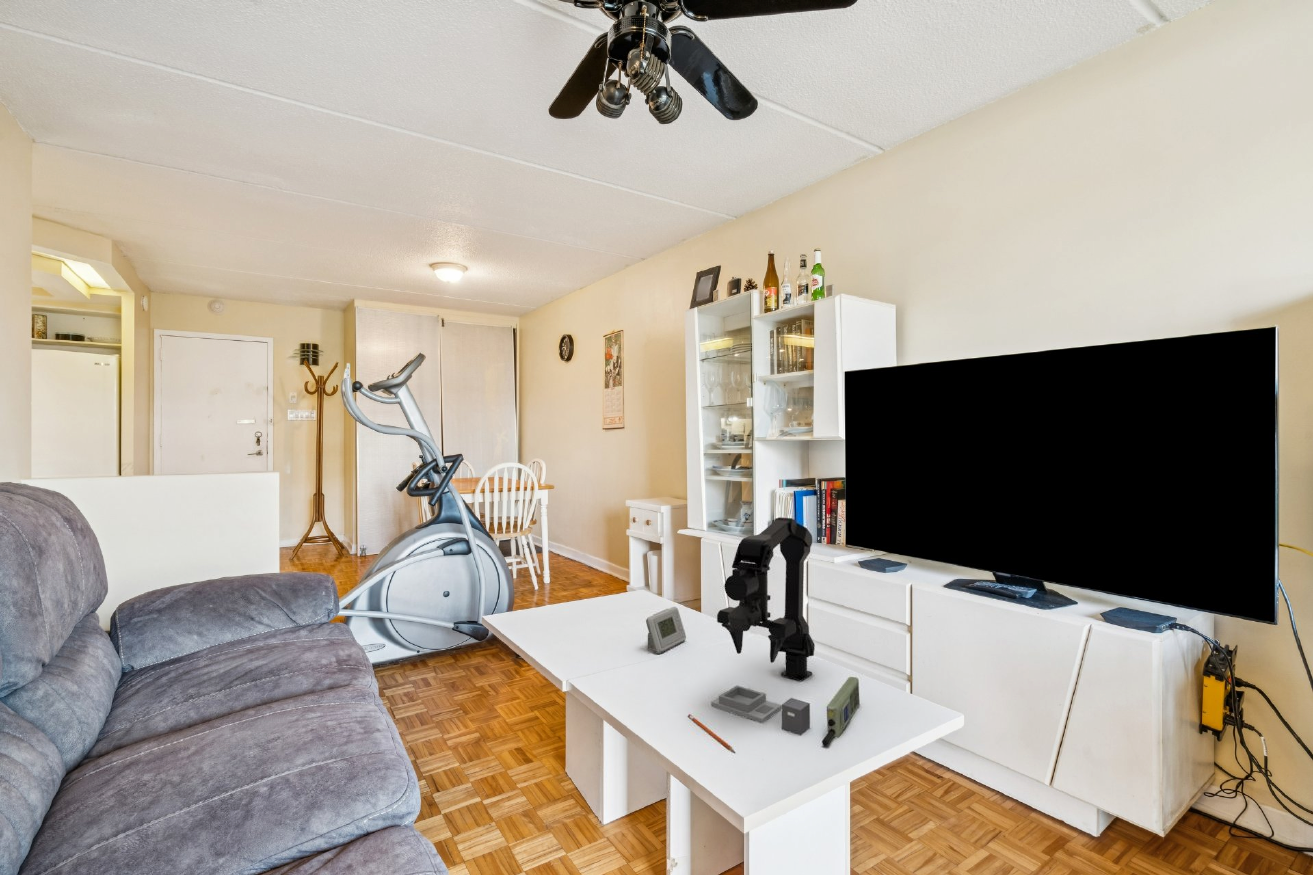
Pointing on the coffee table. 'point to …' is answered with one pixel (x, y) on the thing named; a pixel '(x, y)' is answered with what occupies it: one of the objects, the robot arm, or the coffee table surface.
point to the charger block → (795, 716)
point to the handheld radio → (842, 708)
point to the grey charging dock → (746, 704)
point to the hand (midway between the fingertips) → (755, 657)
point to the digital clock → (665, 630)
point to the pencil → (711, 733)
